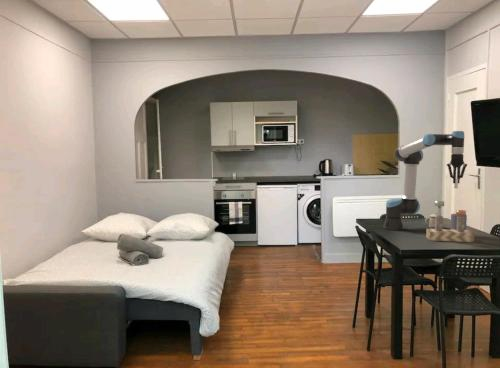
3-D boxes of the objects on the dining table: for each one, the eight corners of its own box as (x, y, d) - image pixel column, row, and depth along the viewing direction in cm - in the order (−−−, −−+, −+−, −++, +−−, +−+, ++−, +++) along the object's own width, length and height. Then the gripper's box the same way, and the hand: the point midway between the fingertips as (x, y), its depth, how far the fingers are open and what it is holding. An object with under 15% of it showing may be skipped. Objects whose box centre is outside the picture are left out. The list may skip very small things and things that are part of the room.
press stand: (429, 240, 297) (430, 217, 295) (426, 237, 308) (426, 214, 307) (473, 242, 291) (474, 218, 290) (468, 238, 302) (469, 215, 301)
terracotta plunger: (456, 231, 295) (457, 211, 294) (454, 230, 301) (455, 209, 300) (466, 231, 294) (467, 211, 293) (464, 230, 300) (464, 210, 299)
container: (467, 236, 308) (468, 216, 307) (451, 236, 312) (452, 215, 310) (464, 234, 318) (465, 214, 317) (449, 233, 321) (450, 213, 320)
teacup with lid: (439, 226, 352) (440, 212, 351) (442, 228, 343) (443, 213, 342) (424, 225, 354) (424, 211, 353) (426, 227, 345) (427, 213, 344)
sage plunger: (435, 222, 298) (435, 201, 297) (433, 220, 304) (434, 200, 303) (444, 222, 296) (445, 201, 295) (442, 221, 302) (443, 200, 301)
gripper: (448, 153, 292) (447, 188, 294) (469, 153, 289) (467, 188, 291) (445, 153, 299) (444, 187, 301) (466, 153, 297) (464, 187, 299)
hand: (455, 188), depth 296 cm, fingers closed
